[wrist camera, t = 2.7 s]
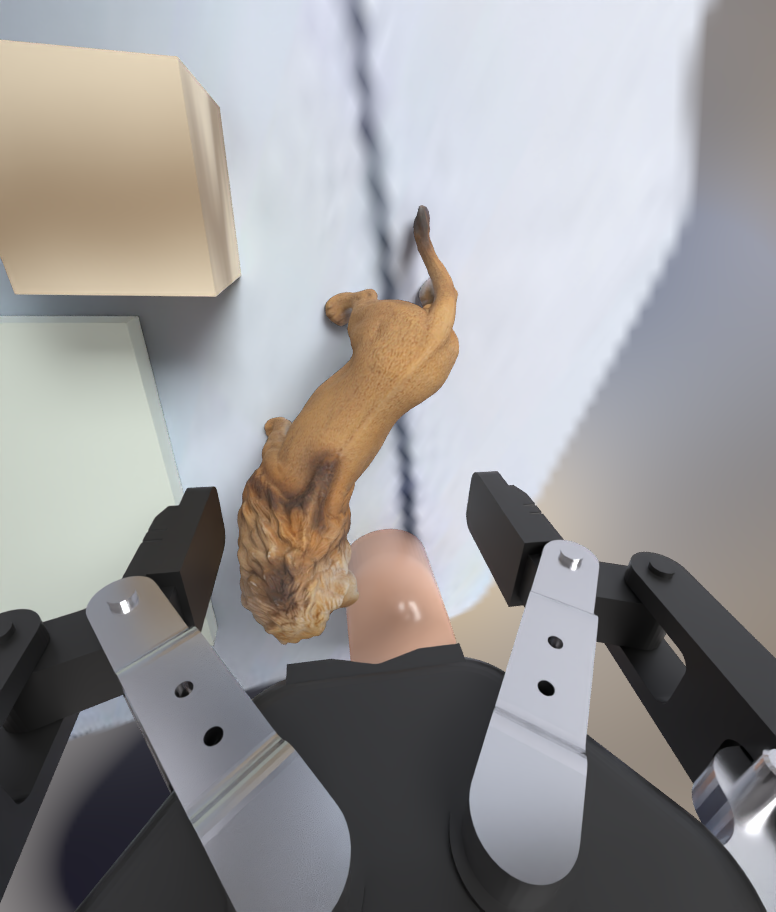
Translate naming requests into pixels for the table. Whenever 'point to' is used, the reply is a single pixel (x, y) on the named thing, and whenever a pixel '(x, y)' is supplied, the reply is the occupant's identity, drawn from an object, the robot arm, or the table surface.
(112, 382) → the sage board
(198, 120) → the birch block
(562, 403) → the table surface
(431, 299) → the lion figurine
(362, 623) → the peach rounded cylinder
